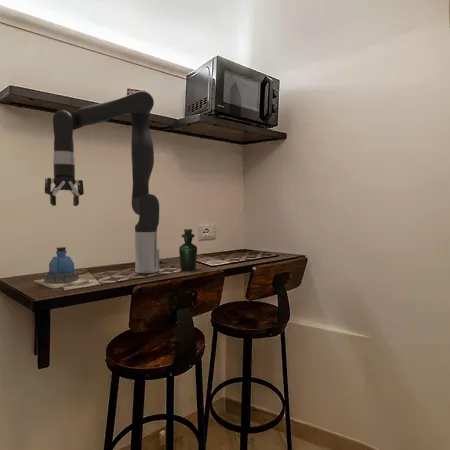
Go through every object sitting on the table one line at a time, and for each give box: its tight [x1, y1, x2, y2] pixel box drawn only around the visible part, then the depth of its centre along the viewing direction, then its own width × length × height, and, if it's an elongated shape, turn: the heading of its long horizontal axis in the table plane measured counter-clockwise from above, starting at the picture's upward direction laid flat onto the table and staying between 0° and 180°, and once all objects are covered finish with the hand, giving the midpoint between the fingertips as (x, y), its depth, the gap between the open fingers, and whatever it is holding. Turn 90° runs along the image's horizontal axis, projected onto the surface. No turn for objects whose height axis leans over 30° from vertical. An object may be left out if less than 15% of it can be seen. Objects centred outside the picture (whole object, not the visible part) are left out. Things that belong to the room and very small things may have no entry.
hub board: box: [33, 269, 90, 289], centre depth 130 cm, size 13×15×4 cm
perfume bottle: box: [48, 246, 75, 275], centre depth 129 cm, size 6×6×12 cm
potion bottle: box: [178, 228, 198, 272], centre depth 158 cm, size 8×8×18 cm
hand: (65, 205), depth 139 cm, fingers open, 8 cm apart
